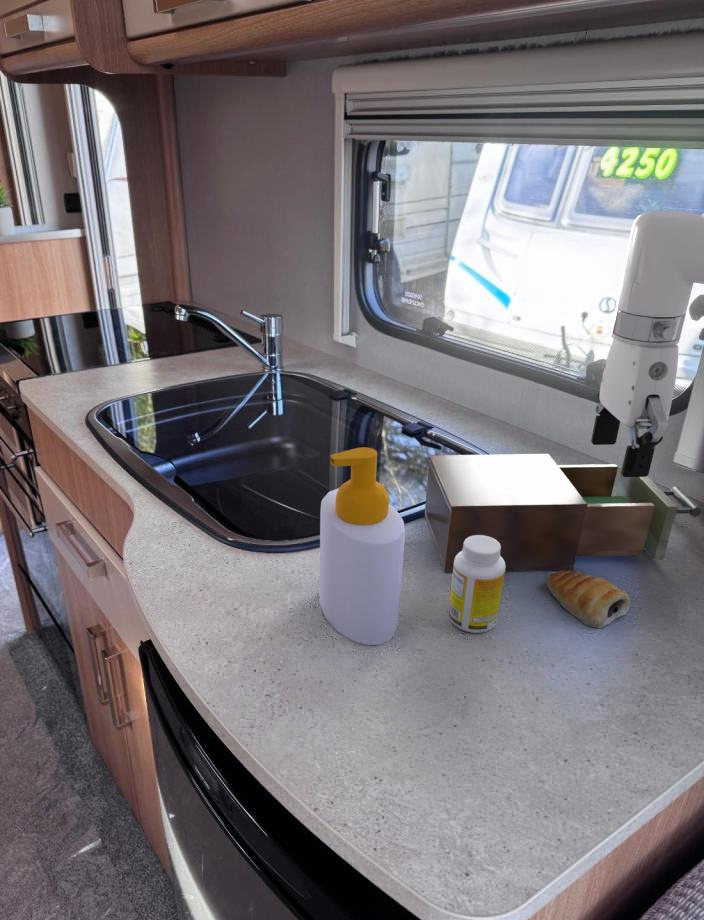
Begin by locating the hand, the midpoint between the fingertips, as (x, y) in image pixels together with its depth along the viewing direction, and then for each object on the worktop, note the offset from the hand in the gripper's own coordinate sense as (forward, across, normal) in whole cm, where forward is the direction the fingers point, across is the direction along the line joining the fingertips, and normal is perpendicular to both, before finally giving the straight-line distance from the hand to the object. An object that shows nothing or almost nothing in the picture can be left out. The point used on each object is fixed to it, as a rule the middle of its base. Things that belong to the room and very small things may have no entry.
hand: (617, 459), depth 93 cm
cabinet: (+12, 0, +15) cm, 19 cm away
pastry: (+12, -15, +8) cm, 21 cm away
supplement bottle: (+12, -17, +22) cm, 30 cm away
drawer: (+11, 0, -1) cm, 11 cm away
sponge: (+10, 0, 0) cm, 10 cm away
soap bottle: (+12, -15, +35) cm, 40 cm away
